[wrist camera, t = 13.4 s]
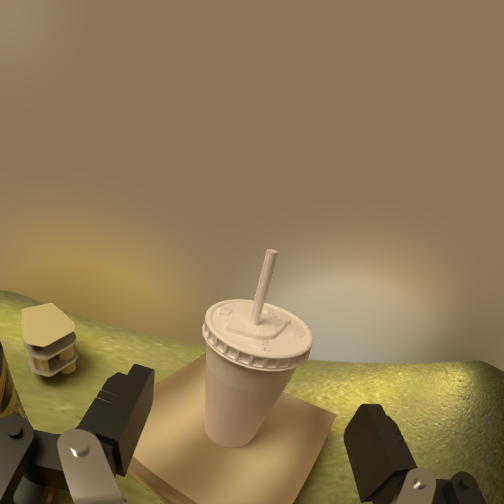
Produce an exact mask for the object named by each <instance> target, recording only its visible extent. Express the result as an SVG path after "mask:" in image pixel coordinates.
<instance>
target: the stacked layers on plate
mask: <svg viewBox="0 0 504 504" xmlns="http://www.w3.org/2000/svg"><path fill="white" fill-rule="evenodd" d="M74 329H75V324H74V322H73V321H72V320H71V319H70V318H68V317H67V316H66V315H65V314H64V313H63V312H62V311H61V310H60V309H58V308H57V307H56V306H55V305H54V304H53V303H48V304H43V305H39V306H34V307H30V308H25V309H22V336H23V338H24V346H25V349H26V351H27V354H28V363H29V366H30V368H31V370H32V371H33V373H34V374H38V375H43V376H48V377H50V376H53V375H54V374H56V373H57V372H59V371H62V374H70V373H72V372H74V371H75V369H76V362H75V361H76V359H77V358H78V352H77V349H76V348H75V347H74V346H73V345H74V344H75V342H76V335H75V333H74V332H73V330H74Z"/></svg>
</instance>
